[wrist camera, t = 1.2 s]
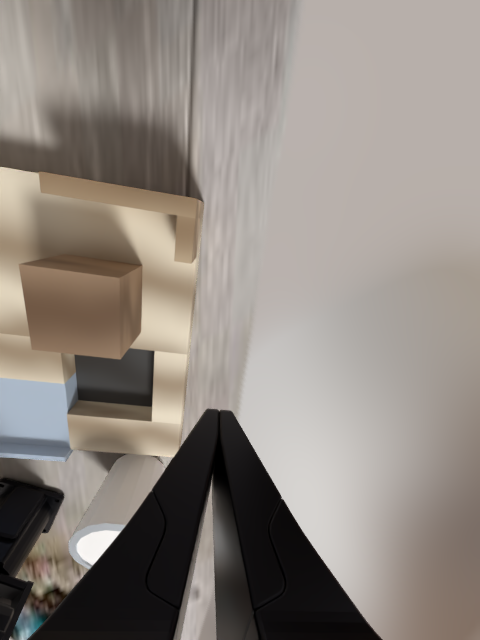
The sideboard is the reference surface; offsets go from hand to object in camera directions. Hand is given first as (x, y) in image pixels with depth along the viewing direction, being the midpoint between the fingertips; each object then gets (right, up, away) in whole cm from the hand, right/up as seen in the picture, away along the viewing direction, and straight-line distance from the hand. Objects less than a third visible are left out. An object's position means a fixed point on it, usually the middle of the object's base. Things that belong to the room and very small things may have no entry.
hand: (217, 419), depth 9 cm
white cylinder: (-10, -13, +19) cm, 25 cm away
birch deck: (-11, +2, +12) cm, 17 cm away
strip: (-17, -4, +15) cm, 23 cm away
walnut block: (-9, +5, +9) cm, 14 cm away
